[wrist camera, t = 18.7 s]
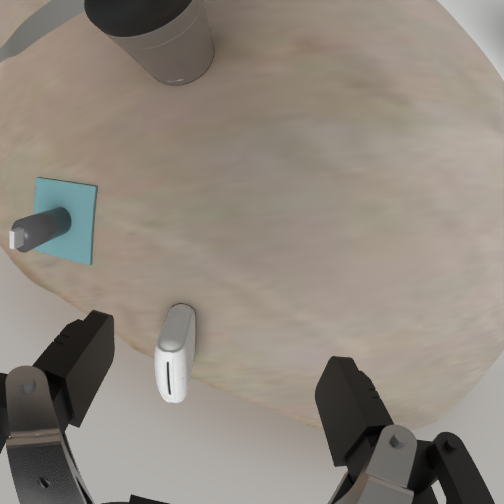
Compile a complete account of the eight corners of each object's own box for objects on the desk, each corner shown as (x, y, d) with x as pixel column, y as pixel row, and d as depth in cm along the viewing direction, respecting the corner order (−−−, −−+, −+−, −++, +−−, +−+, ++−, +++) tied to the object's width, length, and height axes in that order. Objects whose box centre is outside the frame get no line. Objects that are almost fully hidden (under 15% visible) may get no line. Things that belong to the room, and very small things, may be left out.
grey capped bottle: (52, 204, 36) (2, 219, 24) (72, 209, 36) (23, 226, 25) (50, 230, 37) (2, 252, 25) (70, 236, 37) (23, 260, 26)
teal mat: (38, 177, 35) (36, 177, 34) (97, 186, 36) (95, 186, 36) (35, 248, 38) (33, 249, 38) (91, 264, 40) (90, 265, 39)
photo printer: (196, 357, 45) (186, 412, 34) (171, 354, 45) (155, 407, 33) (197, 304, 42) (184, 355, 31) (169, 301, 42) (148, 349, 30)
